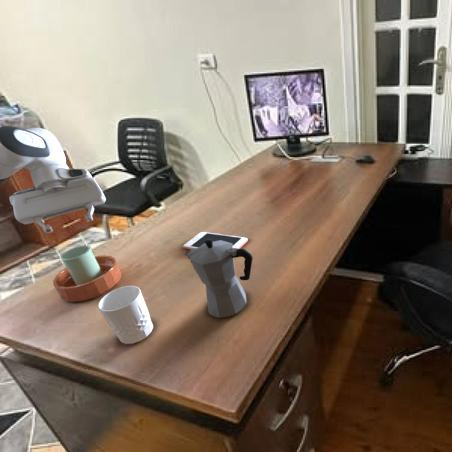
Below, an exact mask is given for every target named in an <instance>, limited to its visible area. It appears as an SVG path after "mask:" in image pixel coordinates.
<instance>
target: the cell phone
mask: <svg viewBox="0 0 452 452" xmlns="http://www.w3.org/2000/svg"><path fill="white" fill-rule="evenodd" d="M207 239H212V242H214V241H219V240H222V241H225V242H229V243H232V246H233V248H238V249H242V247H243V246H244V245H246V243H247V242H248V241H249V240H248V238H247V237H242V236H237V235H228V234H221V233H215V232H214V233H213V232H208V231H207V232H206V231H200V232H199V233H198V234H196V235H195V236H193V238H191V239H190V240H188V241H187V242H186V243H185V244H183V245H182V247H183V249H188V250H191V249H195V248H198V247H200V246H201V245H203V244H205V240H207Z"/></svg>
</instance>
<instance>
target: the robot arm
mask: <svg viewBox="0 0 452 452" xmlns="http://www.w3.org/2000/svg"><path fill="white" fill-rule="evenodd" d="M22 169H26V170H28V171H29V172H30V173H29V174H30V178H31V181H32V184H33V187H29V188H25V189H23V190H22V189H21V190H17V191H14V193H12V194H11V195H10V196H9V202H10V205H11V207H12V208H13V214H14V218H15V220H16V221H18V222H19V223H21V224H23V225H29V224H33V223H36V224H37V225H38V226H40V227H41V228H42V230H43V232H44V233H45V234H46V235H48V234H51V233H54V230H53V227H52V226H51V225H50V224H46V225H45V220H47V219H52V218H55V217H58V216H62V215H67V214H70V213H74V212H77V211H82V210H85V209H87V213H85V214H83V216H84V219H85V221H86V222H87V223H90V222H93V221H94V218H93V214H94V212H95V207H97V206H100V205H104V204H105V203H106V201H107V198H106V196H105V193H104V192H103V189H102V188H101V187H100V185H99V183H98V182H97V181H96V180H95V178H93V176H92V174H91V173H90V171H88V169H86V168H70V167H69V166H68V165H67V158H66V155H65V152H64V150H63V148H62V146H61V144H60V142H59V140H58V138H57V137H56V136H55V135H54V134H53V133H52V131H50V130H48V129H46V128H41V127H27V128H26V129H24V128H21V127H18V126H12V125H3V126H0V186H1V185H3V184H5V183H6V182H8V180H9V179H10V178H12V177H13V176H14V175H15V174H16V173H18V172H19V171H20V170H22Z"/></svg>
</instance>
